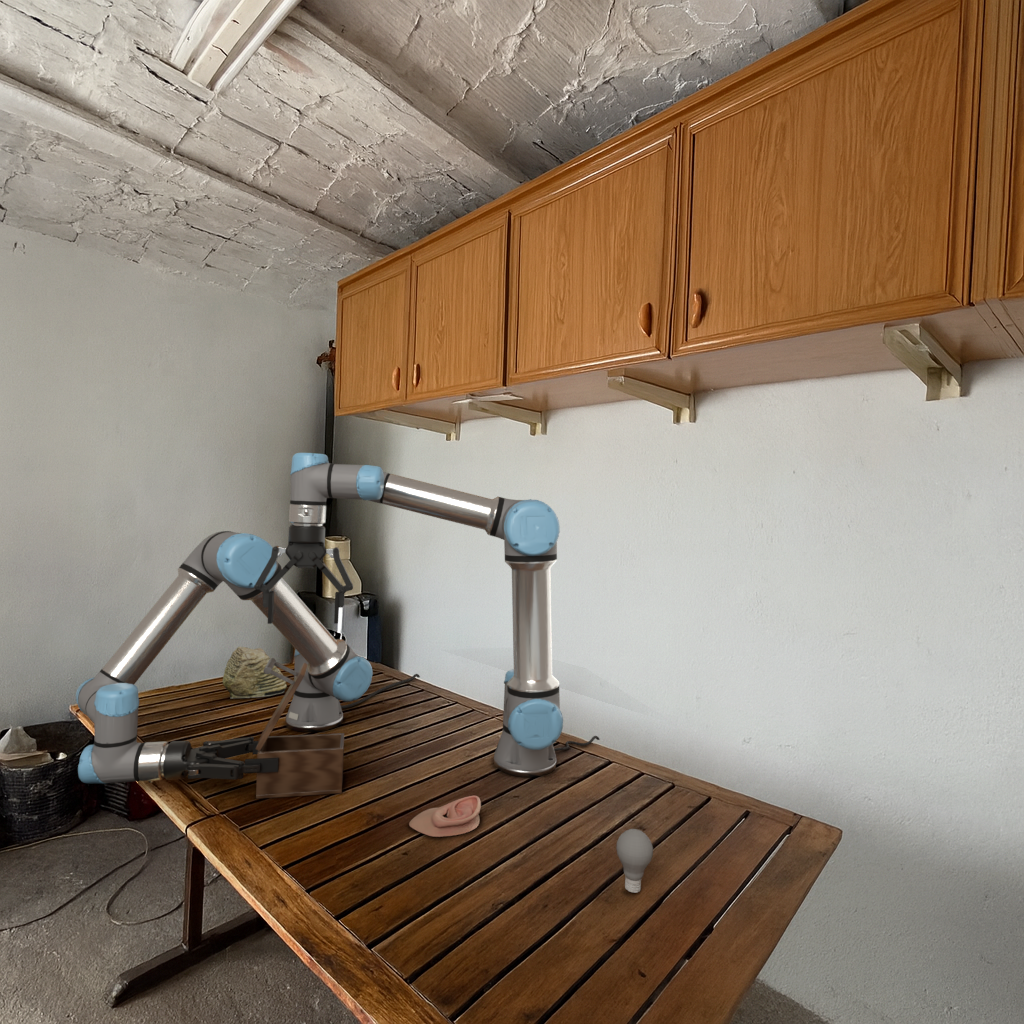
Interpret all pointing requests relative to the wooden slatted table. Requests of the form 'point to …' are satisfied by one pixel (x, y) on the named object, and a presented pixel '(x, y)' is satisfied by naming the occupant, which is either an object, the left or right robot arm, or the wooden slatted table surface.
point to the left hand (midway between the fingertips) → (281, 755)
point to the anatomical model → (449, 818)
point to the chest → (302, 765)
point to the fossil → (251, 675)
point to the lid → (285, 699)
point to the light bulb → (634, 857)
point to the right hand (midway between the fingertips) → (303, 622)
